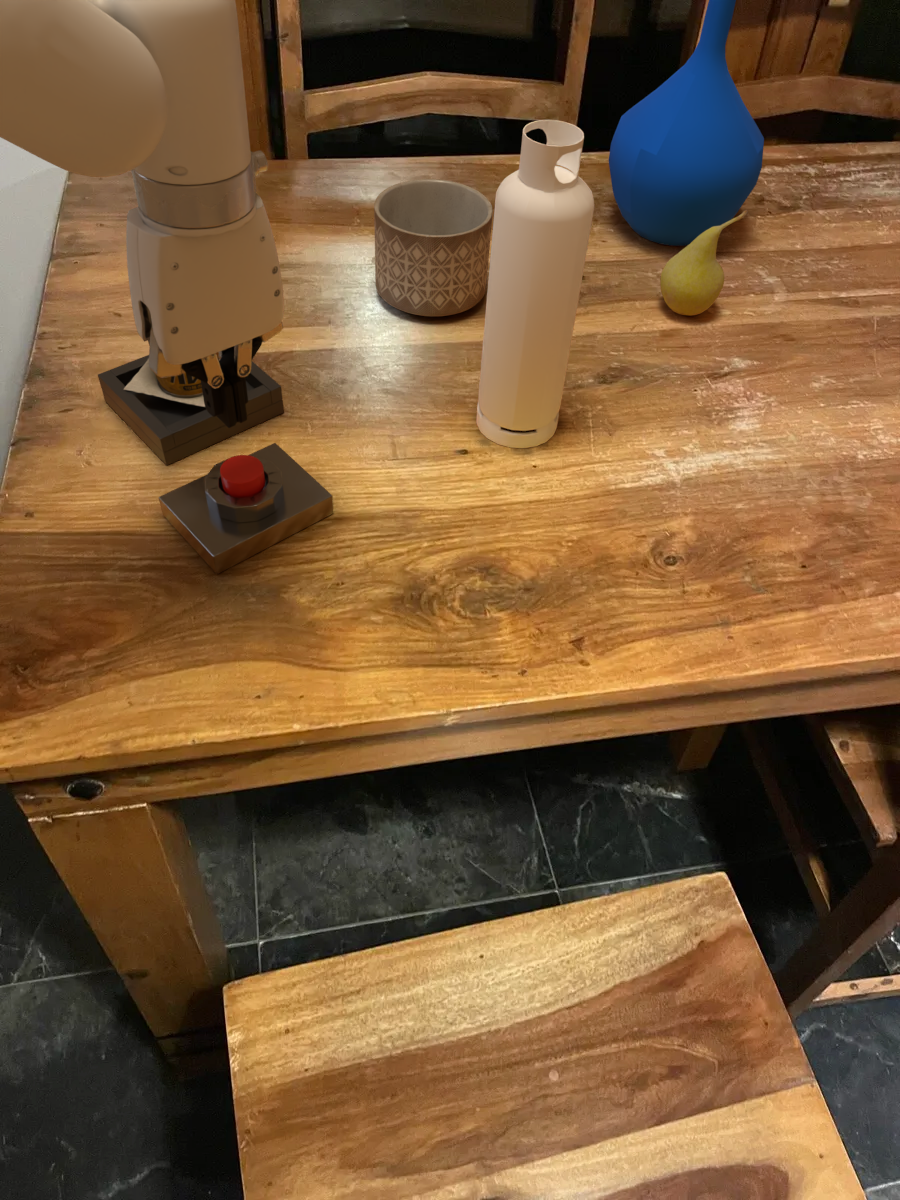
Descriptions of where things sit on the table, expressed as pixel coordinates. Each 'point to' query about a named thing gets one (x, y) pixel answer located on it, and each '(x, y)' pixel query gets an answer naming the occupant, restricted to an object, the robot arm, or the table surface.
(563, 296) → the bottle
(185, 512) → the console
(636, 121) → the vase
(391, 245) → the planter
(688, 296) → the fruit
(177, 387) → the condiment
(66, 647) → the table surface
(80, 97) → the robot arm
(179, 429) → the tray
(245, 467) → the button
